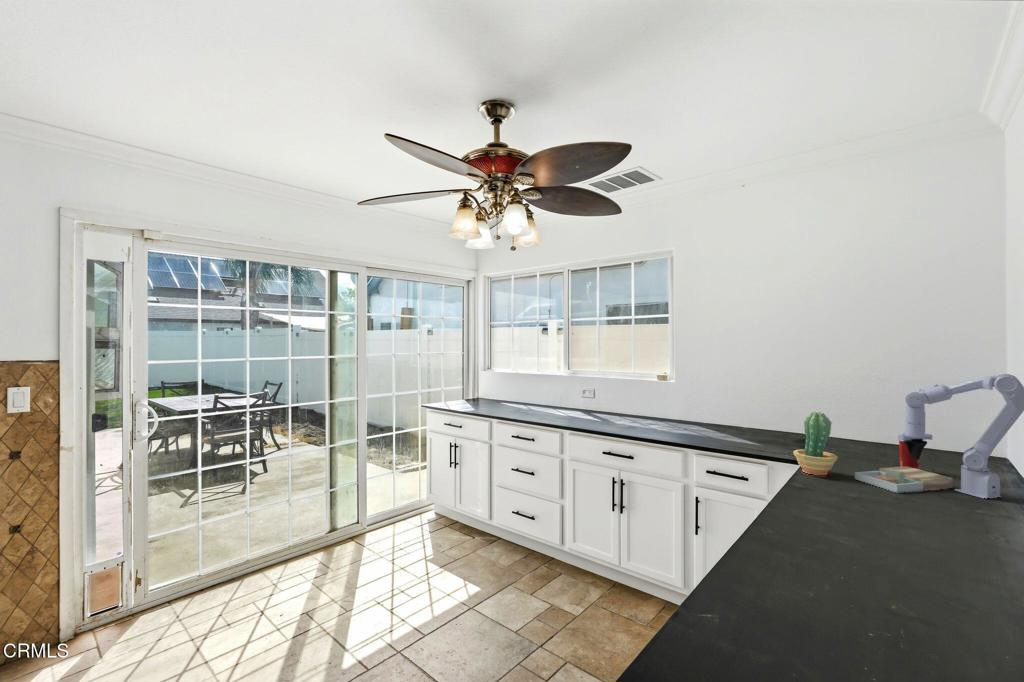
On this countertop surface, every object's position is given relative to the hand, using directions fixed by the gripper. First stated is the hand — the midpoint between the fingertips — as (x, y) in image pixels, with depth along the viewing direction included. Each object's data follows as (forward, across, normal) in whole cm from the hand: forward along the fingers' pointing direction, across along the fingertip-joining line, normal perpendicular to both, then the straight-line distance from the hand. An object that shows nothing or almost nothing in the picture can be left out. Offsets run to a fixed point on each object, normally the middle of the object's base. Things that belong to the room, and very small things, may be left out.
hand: (915, 458), depth 179 cm
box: (+9, +13, 0) cm, 16 cm away
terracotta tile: (+6, +15, 0) cm, 16 cm away
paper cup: (+10, -16, -14) cm, 24 cm away
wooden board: (+9, 0, 0) cm, 9 cm away
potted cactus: (+10, +26, -19) cm, 34 cm away
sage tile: (+6, +9, 0) cm, 11 cm away
